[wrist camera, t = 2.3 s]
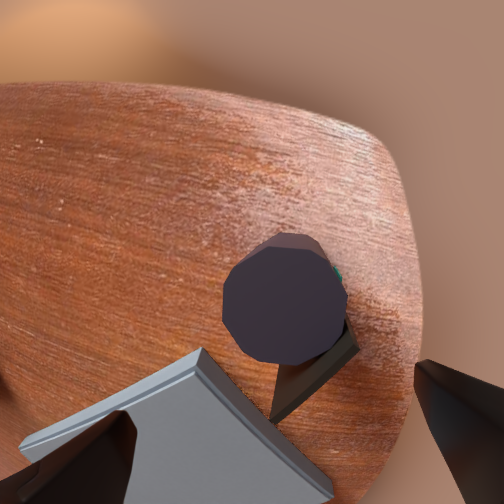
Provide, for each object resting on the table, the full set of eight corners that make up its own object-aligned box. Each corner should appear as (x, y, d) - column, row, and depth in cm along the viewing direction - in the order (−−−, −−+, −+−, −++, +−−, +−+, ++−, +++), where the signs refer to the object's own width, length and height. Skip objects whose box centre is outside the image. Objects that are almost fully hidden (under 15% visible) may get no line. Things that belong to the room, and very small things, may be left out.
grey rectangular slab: (202, 346, 24) (194, 367, 21) (331, 480, 27) (335, 500, 25) (26, 436, 29) (16, 449, 26) (137, 526, 33) (133, 539, 30)
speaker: (355, 304, 22) (393, 381, 12) (286, 340, 23) (277, 431, 13) (305, 211, 22) (315, 224, 11) (233, 252, 23) (185, 297, 13)
